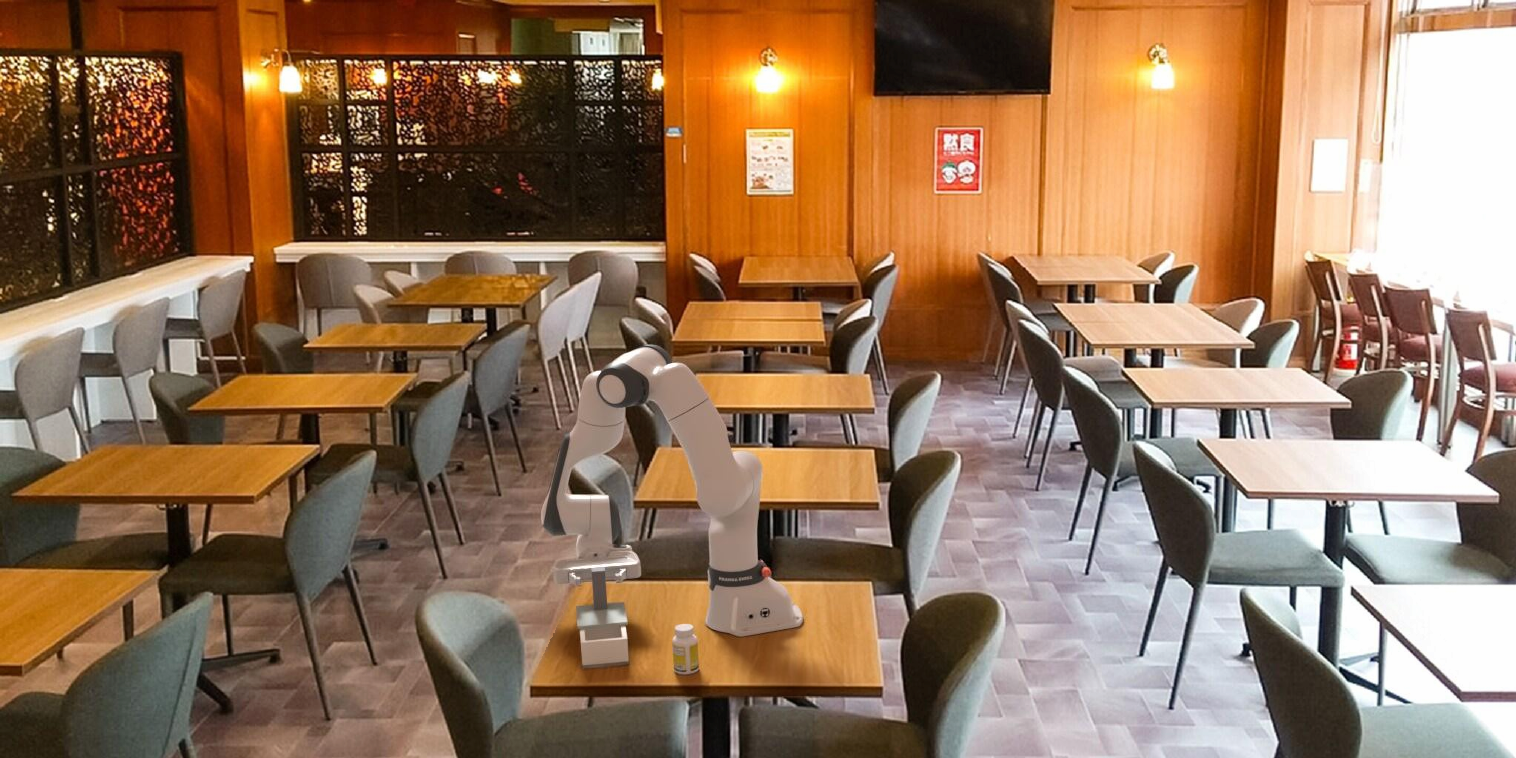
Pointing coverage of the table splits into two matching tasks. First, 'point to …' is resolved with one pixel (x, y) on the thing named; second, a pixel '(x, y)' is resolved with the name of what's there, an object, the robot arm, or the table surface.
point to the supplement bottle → (685, 650)
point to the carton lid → (600, 606)
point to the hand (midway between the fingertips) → (598, 581)
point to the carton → (604, 646)
